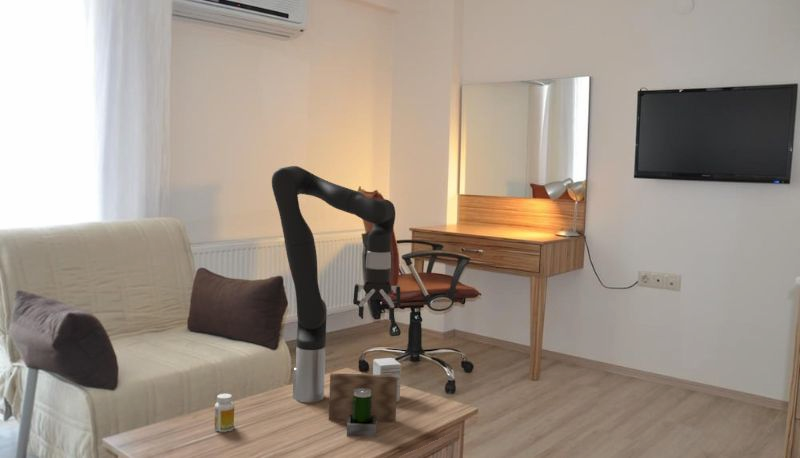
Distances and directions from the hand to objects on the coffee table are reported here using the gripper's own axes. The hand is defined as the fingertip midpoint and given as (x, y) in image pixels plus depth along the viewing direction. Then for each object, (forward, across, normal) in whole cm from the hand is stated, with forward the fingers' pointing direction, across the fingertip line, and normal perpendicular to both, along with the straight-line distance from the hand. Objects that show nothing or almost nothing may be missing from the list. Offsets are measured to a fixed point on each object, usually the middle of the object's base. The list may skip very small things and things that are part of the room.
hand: (376, 318), depth 208 cm
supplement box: (+30, +4, +14) cm, 34 cm away
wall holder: (+30, -3, -10) cm, 32 cm away
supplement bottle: (+30, -42, -14) cm, 54 cm away
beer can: (+30, -3, -13) cm, 33 cm away
